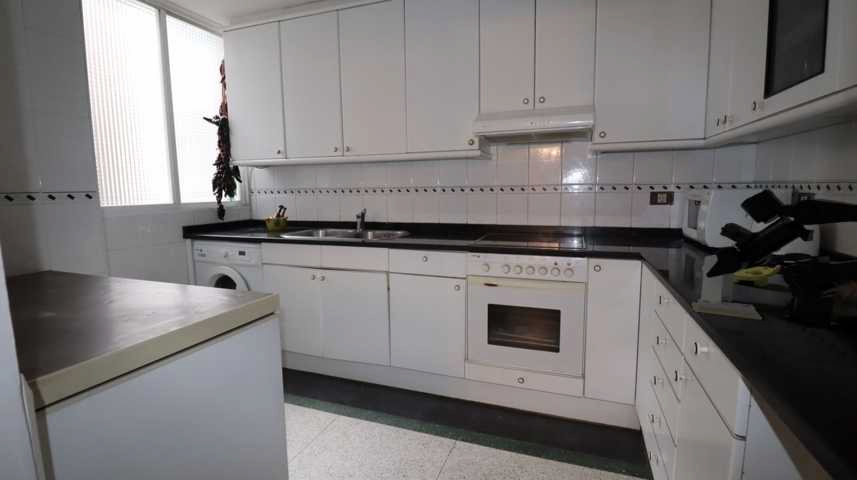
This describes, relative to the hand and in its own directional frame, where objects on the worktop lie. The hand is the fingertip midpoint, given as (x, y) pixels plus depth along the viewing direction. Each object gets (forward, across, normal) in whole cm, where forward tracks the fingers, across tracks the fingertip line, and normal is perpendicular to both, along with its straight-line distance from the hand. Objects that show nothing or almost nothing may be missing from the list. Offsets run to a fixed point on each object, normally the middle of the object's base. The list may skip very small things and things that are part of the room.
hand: (715, 274), depth 107 cm
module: (+4, 0, +6) cm, 7 cm away
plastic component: (+9, -30, +2) cm, 32 cm away
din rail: (+1, +8, +9) cm, 12 cm away
